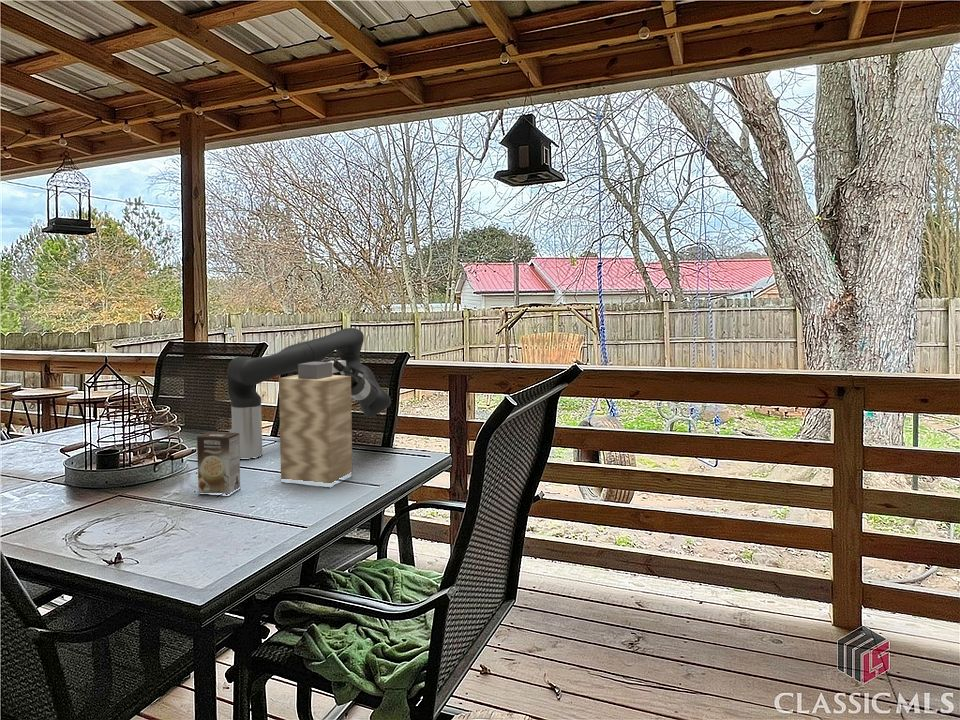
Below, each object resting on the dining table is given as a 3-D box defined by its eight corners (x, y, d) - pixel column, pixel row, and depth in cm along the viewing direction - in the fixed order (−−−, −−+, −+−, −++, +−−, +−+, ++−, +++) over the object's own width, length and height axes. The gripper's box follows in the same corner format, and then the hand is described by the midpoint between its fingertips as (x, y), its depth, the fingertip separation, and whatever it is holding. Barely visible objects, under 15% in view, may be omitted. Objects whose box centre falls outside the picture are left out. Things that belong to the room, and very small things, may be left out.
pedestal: (281, 482, 173) (278, 378, 170) (305, 471, 184) (303, 373, 182) (330, 488, 168) (328, 380, 165) (352, 476, 180) (351, 376, 177)
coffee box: (197, 495, 161) (194, 436, 159) (210, 488, 167) (208, 431, 166) (230, 497, 160) (228, 437, 159) (241, 489, 166) (240, 432, 165)
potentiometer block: (298, 378, 171) (298, 364, 170) (333, 371, 188) (333, 358, 188) (316, 379, 169) (316, 364, 168) (350, 372, 186) (350, 359, 186)
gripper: (338, 373, 199) (312, 350, 184) (377, 375, 195) (353, 352, 180) (332, 394, 196) (305, 373, 181) (371, 397, 192) (347, 375, 177)
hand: (329, 362), depth 180 cm, fingers closed on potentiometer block, 3 cm apart
